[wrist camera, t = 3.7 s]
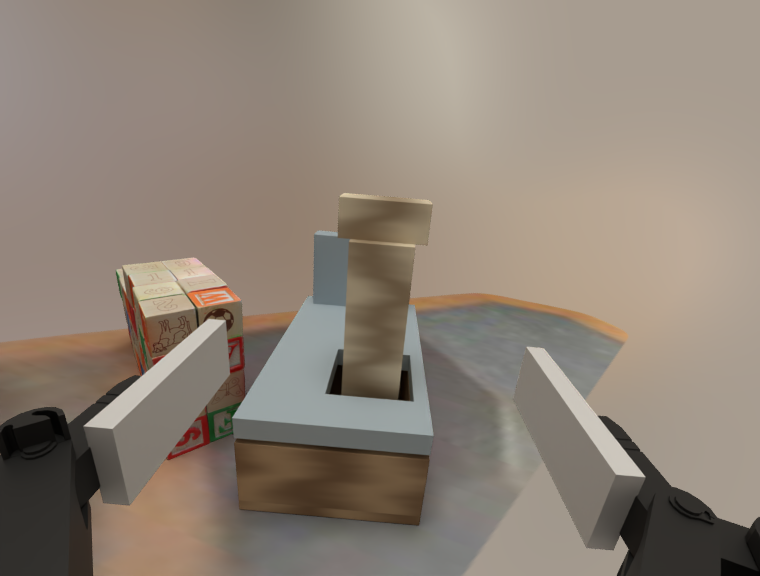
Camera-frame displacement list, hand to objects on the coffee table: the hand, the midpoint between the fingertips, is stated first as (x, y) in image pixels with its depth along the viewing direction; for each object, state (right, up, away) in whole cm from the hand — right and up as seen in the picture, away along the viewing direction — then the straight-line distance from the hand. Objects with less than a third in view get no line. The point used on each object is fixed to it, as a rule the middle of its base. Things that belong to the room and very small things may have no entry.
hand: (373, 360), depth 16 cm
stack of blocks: (-20, -6, +21) cm, 30 cm away
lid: (-2, -3, +15) cm, 16 cm away
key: (-1, -9, +13) cm, 16 cm away
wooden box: (-3, -9, +17) cm, 20 cm away
